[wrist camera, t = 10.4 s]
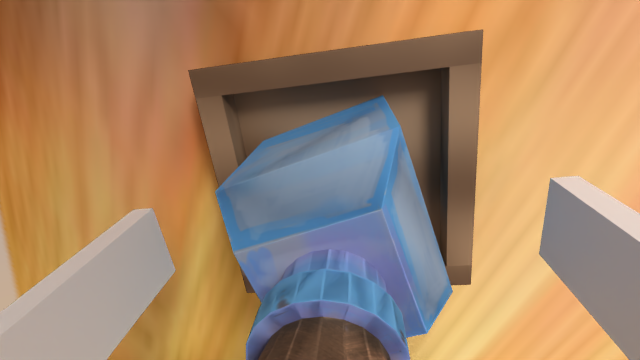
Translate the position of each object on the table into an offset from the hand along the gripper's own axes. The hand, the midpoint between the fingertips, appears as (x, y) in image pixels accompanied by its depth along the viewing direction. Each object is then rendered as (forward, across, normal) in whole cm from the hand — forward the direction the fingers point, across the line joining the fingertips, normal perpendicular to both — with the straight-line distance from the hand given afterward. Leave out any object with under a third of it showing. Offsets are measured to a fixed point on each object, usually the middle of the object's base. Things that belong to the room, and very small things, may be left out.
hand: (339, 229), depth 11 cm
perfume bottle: (+6, 0, 0) cm, 6 cm away
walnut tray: (+6, 0, 0) cm, 7 cm away
